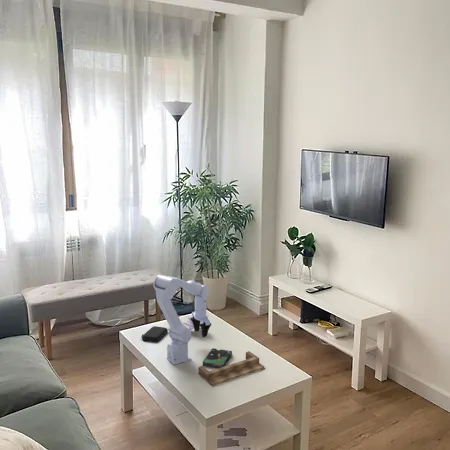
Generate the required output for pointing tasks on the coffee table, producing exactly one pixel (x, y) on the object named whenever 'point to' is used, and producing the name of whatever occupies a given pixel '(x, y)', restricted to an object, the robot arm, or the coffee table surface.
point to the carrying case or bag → (154, 334)
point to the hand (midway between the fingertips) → (200, 333)
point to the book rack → (231, 370)
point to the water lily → (191, 325)
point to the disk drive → (217, 358)
